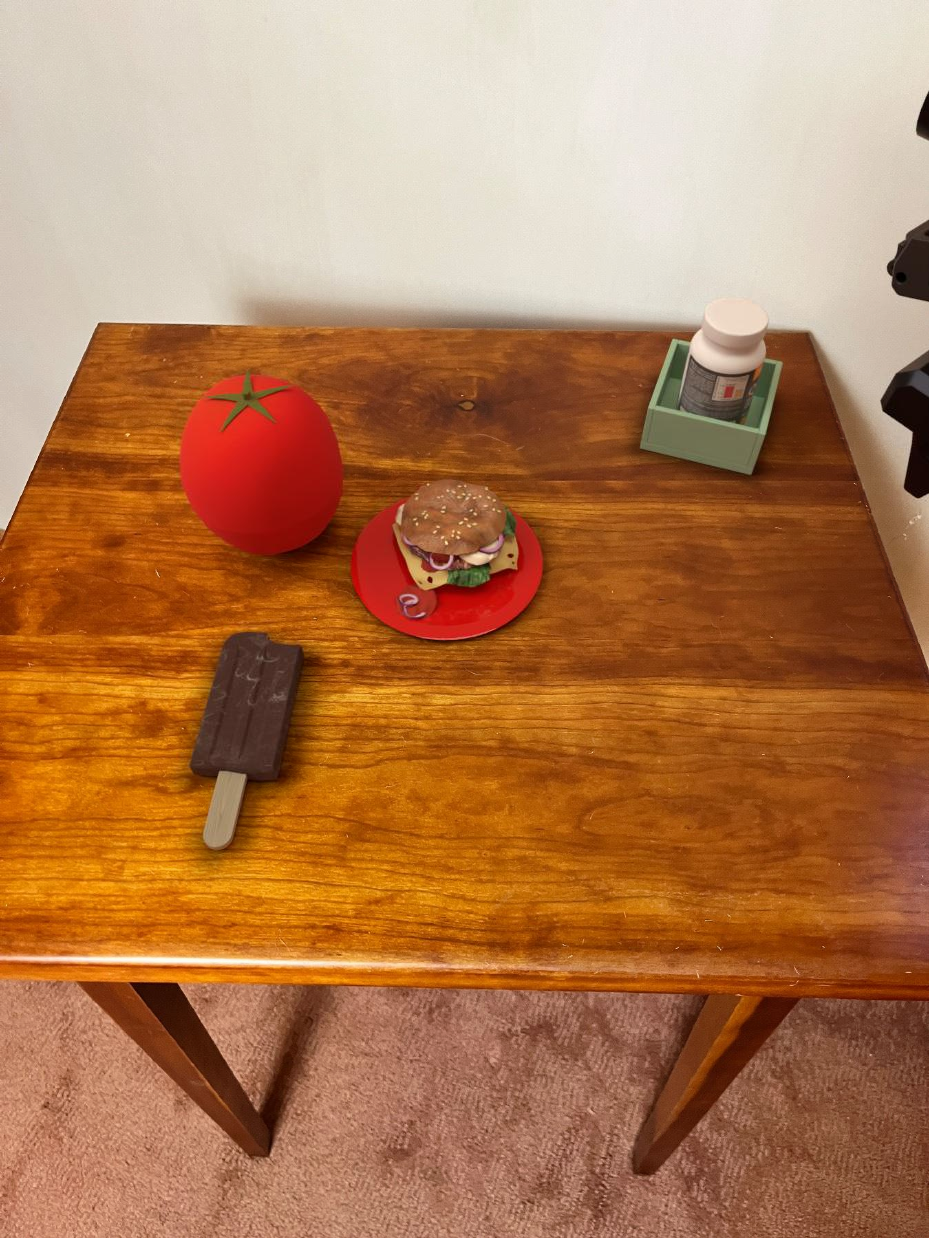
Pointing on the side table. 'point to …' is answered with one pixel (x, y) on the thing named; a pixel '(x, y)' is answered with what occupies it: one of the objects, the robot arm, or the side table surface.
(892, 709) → the side table surface
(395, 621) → the hamburger
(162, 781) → the side table surface
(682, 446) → the green storage bin
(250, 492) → the tomato
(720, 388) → the pill bottle
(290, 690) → the ice cream bar
